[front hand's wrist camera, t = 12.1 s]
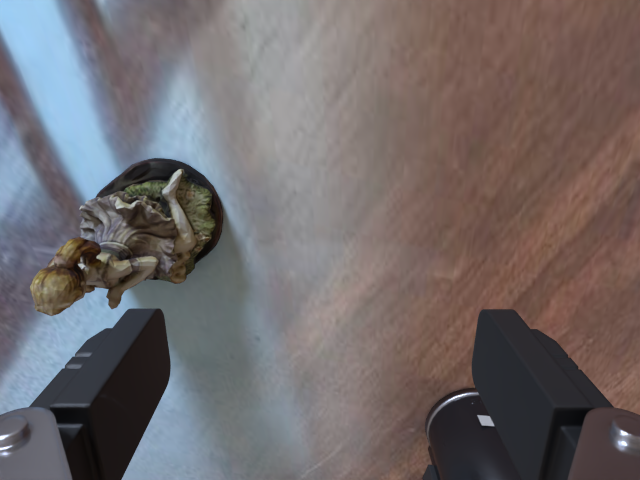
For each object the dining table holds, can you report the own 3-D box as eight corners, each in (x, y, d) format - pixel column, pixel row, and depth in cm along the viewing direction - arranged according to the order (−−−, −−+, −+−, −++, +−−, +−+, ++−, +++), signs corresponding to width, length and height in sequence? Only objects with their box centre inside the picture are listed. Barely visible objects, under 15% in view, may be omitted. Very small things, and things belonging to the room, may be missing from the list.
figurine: (115, 287, 42) (11, 395, 28) (71, 174, 38) (-75, 233, 24) (238, 265, 41) (195, 365, 27) (205, 148, 37) (136, 193, 23)
